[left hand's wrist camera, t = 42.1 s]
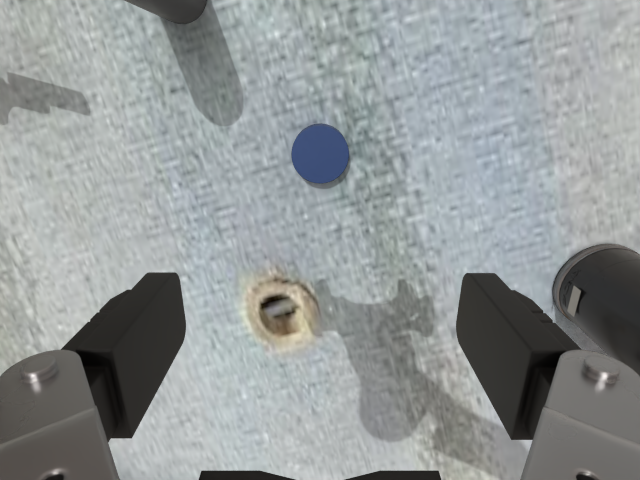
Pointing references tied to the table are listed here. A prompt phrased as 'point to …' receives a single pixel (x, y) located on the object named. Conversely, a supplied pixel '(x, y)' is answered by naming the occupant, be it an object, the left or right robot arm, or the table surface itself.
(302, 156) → the lid
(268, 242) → the table surface
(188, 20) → the dark grey bottle
